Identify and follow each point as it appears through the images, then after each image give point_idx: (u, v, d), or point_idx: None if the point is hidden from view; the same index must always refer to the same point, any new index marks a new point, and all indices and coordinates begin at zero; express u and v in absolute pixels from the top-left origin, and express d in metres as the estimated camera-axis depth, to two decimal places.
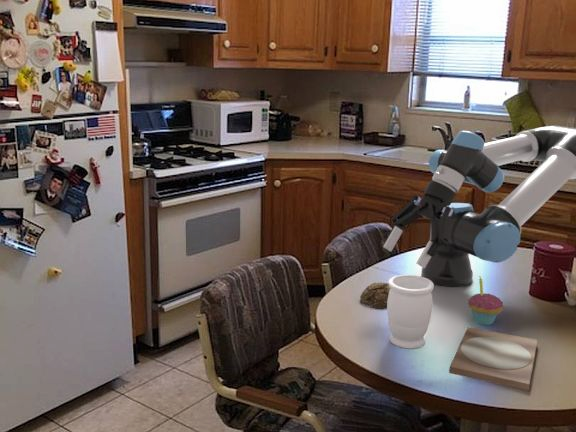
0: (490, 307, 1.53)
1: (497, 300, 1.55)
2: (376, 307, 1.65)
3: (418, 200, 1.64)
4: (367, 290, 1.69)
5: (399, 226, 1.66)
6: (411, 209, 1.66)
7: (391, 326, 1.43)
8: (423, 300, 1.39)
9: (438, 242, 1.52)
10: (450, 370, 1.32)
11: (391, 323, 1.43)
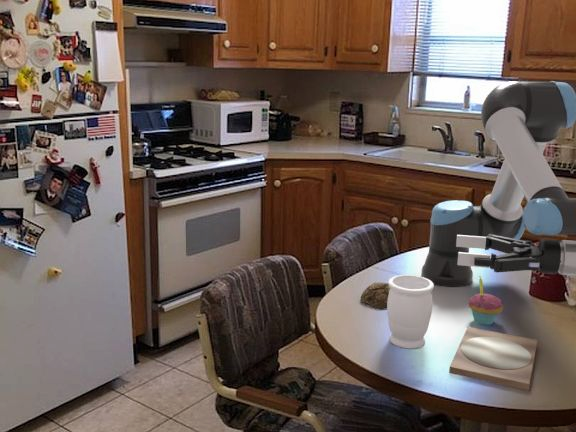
0: (490, 307, 1.53)
1: (497, 300, 1.55)
2: (376, 307, 1.65)
3: None
4: (367, 290, 1.69)
5: None
6: None
7: (391, 326, 1.43)
8: (423, 300, 1.39)
9: None
10: (450, 370, 1.32)
11: (391, 323, 1.43)
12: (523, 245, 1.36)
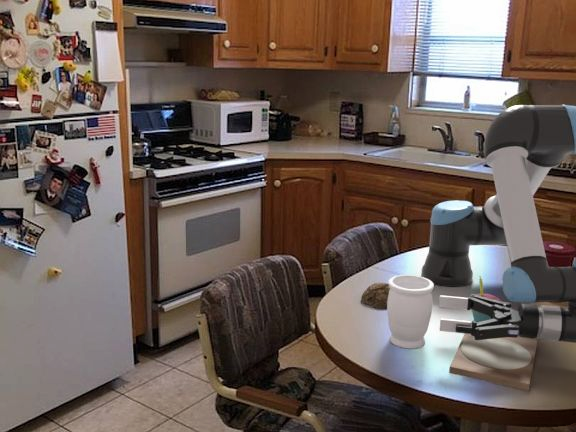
0: None
1: (497, 300, 1.55)
2: (377, 307, 1.65)
3: None
4: (368, 290, 1.69)
5: None
6: None
7: (391, 326, 1.43)
8: (423, 300, 1.39)
9: None
10: (450, 370, 1.32)
11: (391, 323, 1.43)
12: (503, 309, 1.40)
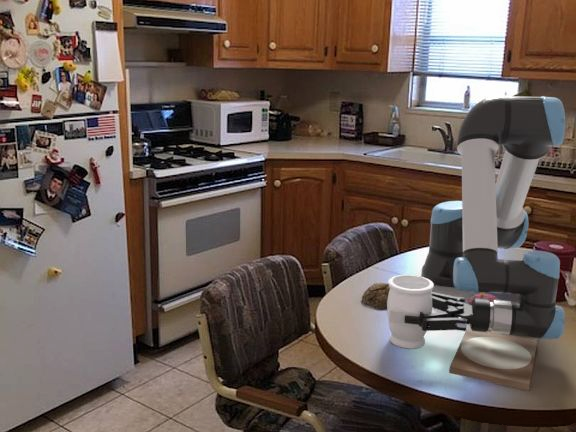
0: None
1: None
2: (378, 308, 1.64)
3: None
4: (369, 291, 1.69)
5: None
6: None
7: (391, 326, 1.43)
8: (423, 300, 1.39)
9: None
10: (450, 370, 1.32)
11: (391, 323, 1.43)
12: (457, 304, 1.42)
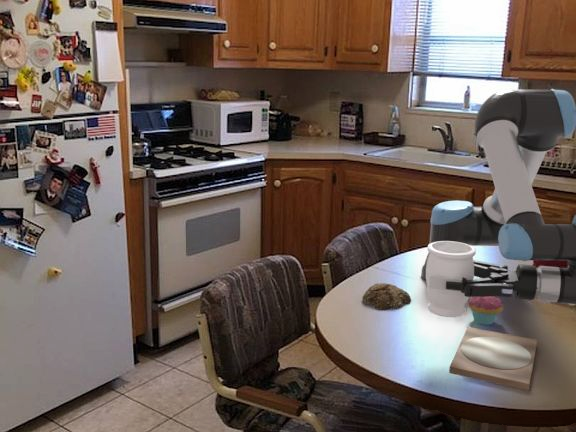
0: (490, 307, 1.53)
1: (497, 300, 1.55)
2: (378, 308, 1.64)
3: None
4: (369, 291, 1.69)
5: None
6: None
7: (430, 294, 1.36)
8: (465, 266, 1.32)
9: None
10: (450, 370, 1.32)
11: (430, 290, 1.36)
12: (501, 270, 1.35)
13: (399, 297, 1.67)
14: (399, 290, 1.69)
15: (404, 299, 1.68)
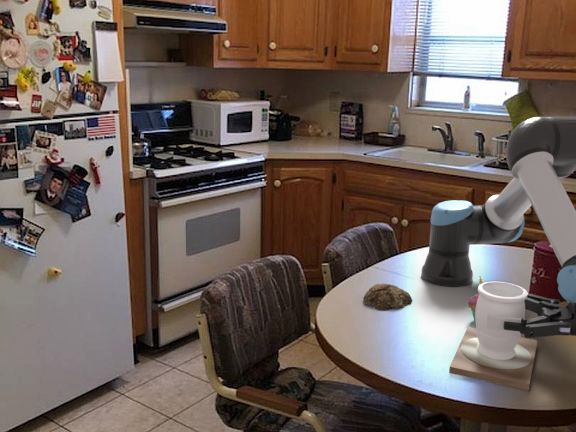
0: None
1: None
2: (379, 308, 1.64)
3: None
4: (370, 291, 1.68)
5: None
6: None
7: (481, 336, 1.35)
8: (518, 309, 1.31)
9: None
10: (450, 370, 1.32)
11: (481, 333, 1.35)
12: (552, 306, 1.34)
13: (400, 297, 1.67)
14: (400, 290, 1.69)
15: (405, 299, 1.67)
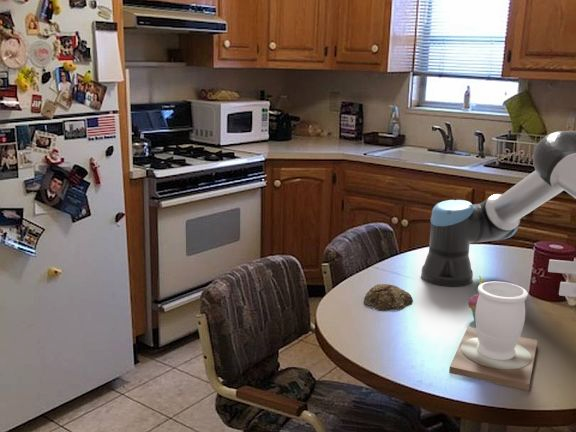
0: None
1: None
2: (380, 309, 1.64)
3: None
4: (371, 292, 1.68)
5: None
6: None
7: (481, 336, 1.35)
8: (518, 309, 1.31)
9: None
10: (450, 370, 1.32)
11: (481, 333, 1.35)
12: None
13: (401, 298, 1.67)
14: (401, 291, 1.69)
15: (406, 299, 1.67)
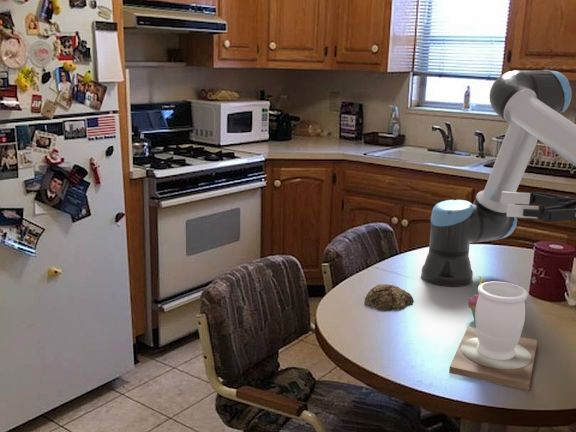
0: None
1: None
2: (381, 309, 1.64)
3: None
4: (372, 292, 1.68)
5: None
6: None
7: (481, 336, 1.35)
8: (518, 309, 1.31)
9: None
10: (450, 370, 1.32)
11: (481, 333, 1.35)
12: (567, 199, 1.43)
13: (402, 298, 1.66)
14: (402, 291, 1.69)
15: (406, 300, 1.67)
